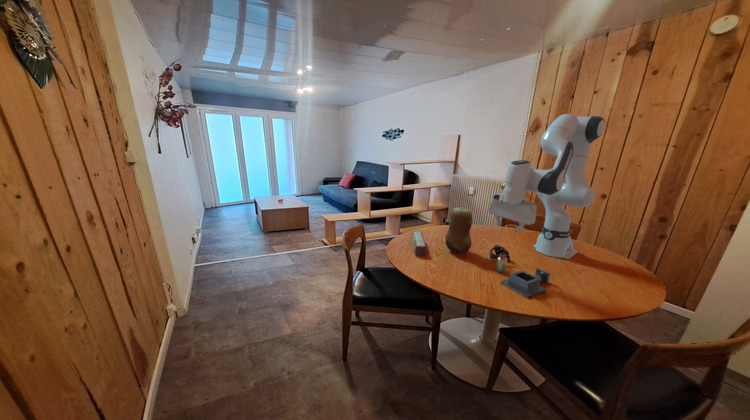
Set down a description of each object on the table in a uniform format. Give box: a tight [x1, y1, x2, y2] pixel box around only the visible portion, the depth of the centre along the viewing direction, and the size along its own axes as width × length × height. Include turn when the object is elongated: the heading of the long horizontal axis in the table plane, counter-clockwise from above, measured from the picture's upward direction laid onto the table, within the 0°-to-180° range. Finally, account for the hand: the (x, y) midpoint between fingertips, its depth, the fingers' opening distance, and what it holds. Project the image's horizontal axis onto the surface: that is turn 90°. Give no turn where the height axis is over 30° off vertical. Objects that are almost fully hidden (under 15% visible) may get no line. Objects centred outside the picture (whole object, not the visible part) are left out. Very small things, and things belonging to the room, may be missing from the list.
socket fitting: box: [500, 268, 551, 299], centre depth 104 cm, size 19×12×5 cm, turn 116°
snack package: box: [411, 231, 427, 257], centre depth 139 cm, size 21×7×7 cm, turn 176°
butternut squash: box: [445, 207, 473, 255], centre depth 133 cm, size 14×13×25 cm
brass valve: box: [495, 254, 508, 275], centre depth 114 cm, size 5×4×8 cm
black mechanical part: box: [489, 244, 511, 262], centre depth 128 cm, size 12×10×8 cm
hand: (507, 228), depth 110 cm, fingers open, 8 cm apart
